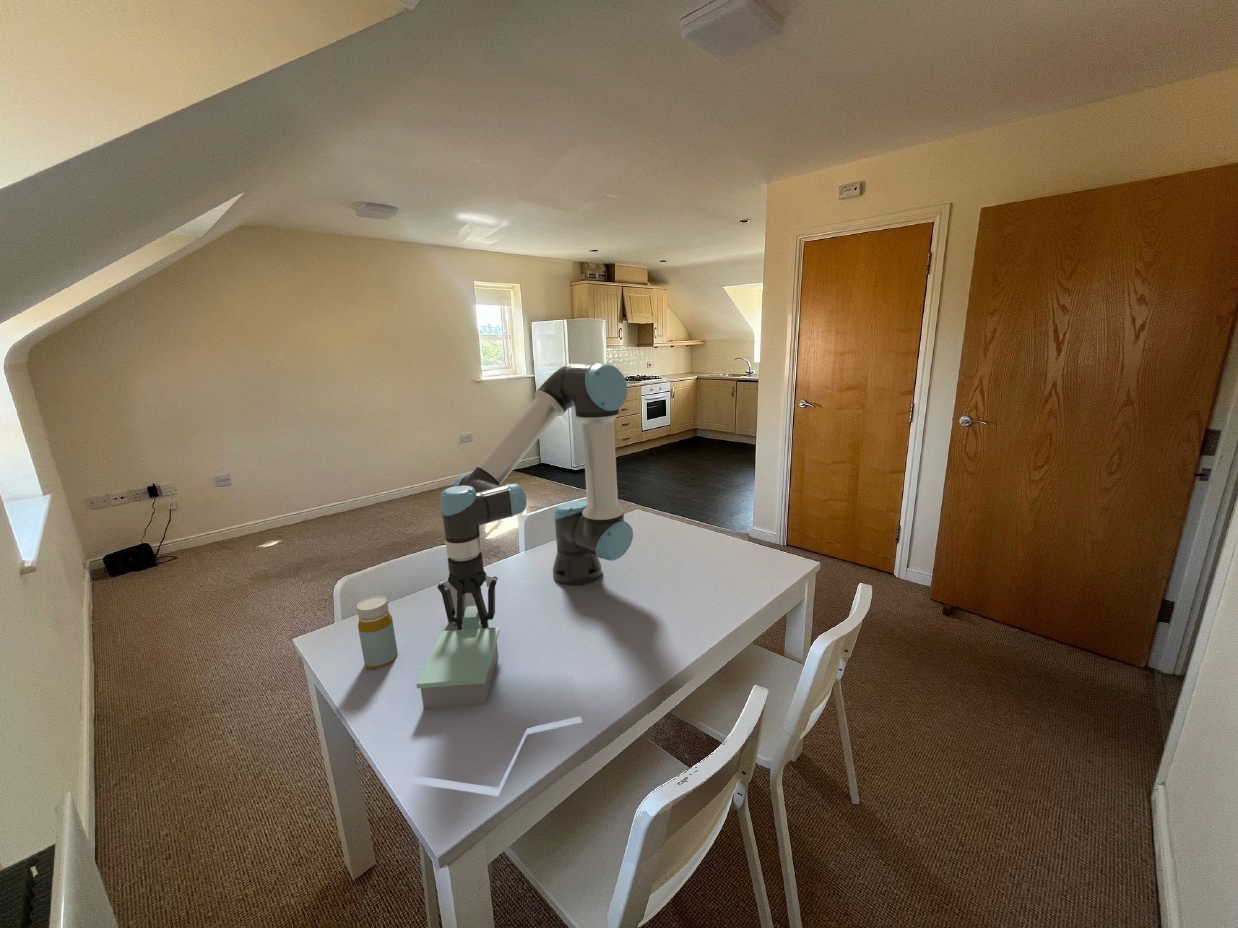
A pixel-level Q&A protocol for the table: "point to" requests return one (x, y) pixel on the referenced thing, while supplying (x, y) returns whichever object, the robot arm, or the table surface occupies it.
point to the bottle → (376, 632)
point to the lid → (460, 654)
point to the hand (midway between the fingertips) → (475, 645)
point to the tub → (459, 692)
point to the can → (468, 599)
